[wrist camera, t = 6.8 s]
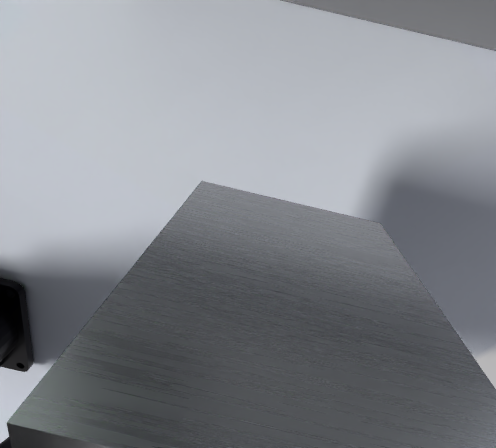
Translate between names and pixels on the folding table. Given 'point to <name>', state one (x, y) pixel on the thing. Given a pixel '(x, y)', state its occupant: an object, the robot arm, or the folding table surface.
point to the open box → (423, 16)
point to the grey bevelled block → (263, 343)
